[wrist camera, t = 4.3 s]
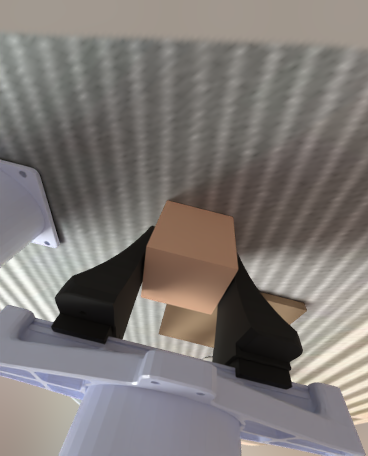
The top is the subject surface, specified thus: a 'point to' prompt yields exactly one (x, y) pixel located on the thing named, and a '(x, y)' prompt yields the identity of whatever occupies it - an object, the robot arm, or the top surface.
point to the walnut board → (206, 324)
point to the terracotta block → (190, 258)
